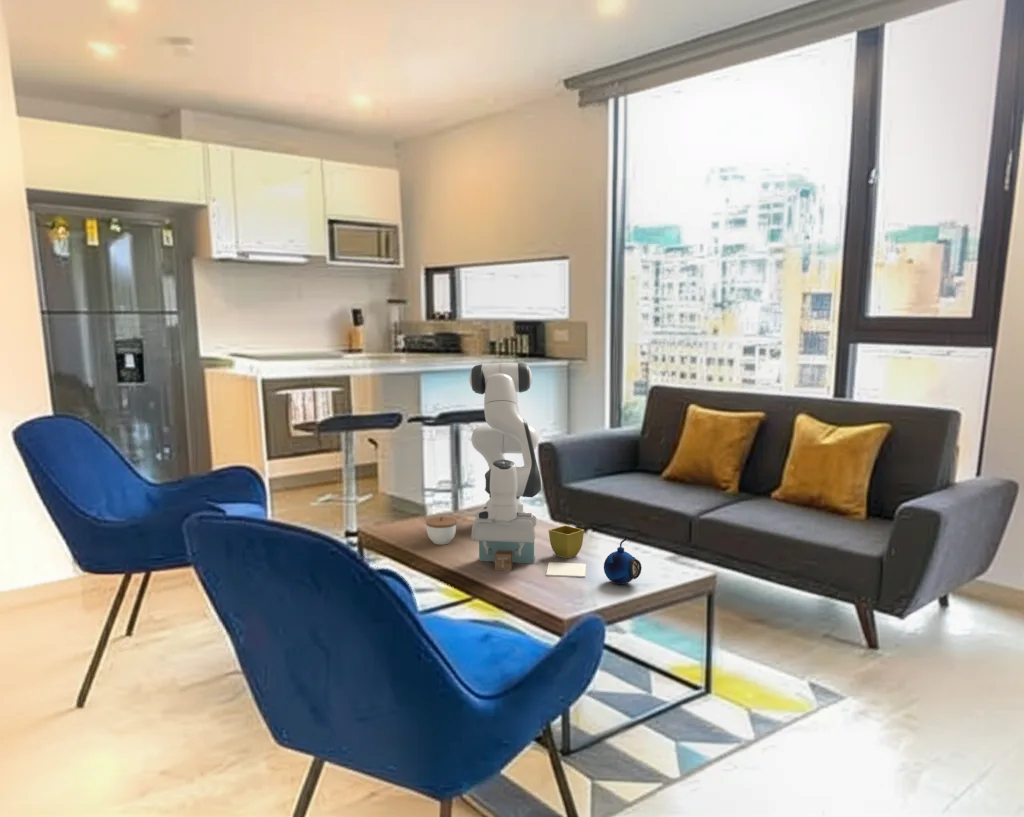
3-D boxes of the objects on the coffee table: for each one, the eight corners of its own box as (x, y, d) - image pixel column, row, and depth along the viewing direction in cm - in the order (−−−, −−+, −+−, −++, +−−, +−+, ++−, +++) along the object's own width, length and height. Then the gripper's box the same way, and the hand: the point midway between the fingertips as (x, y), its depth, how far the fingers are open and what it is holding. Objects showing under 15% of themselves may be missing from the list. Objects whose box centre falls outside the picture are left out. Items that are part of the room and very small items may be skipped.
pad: (549, 563, 238) (549, 562, 238) (586, 565, 237) (586, 563, 237) (546, 575, 226) (546, 574, 226) (585, 577, 225) (585, 576, 225)
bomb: (630, 592, 212) (631, 541, 211) (597, 584, 219) (598, 535, 217) (645, 583, 220) (646, 534, 218) (613, 575, 227) (614, 528, 225)
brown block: (497, 565, 237) (497, 550, 236) (512, 565, 236) (512, 550, 236) (494, 570, 232) (494, 554, 231) (510, 571, 231) (510, 555, 231)
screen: (481, 556, 246) (481, 515, 244) (535, 558, 243) (535, 517, 242) (479, 560, 241) (479, 519, 239) (533, 563, 239) (533, 520, 237)
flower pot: (547, 555, 246) (547, 529, 245) (564, 550, 253) (564, 524, 252) (567, 561, 240) (567, 534, 239) (584, 555, 246) (584, 529, 245)
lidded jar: (462, 540, 264) (462, 514, 263) (446, 548, 255) (445, 521, 254) (437, 536, 269) (437, 511, 268) (420, 543, 260) (420, 517, 259)
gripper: (537, 510, 234) (537, 553, 235) (474, 508, 236) (474, 550, 238) (535, 515, 227) (535, 559, 229) (470, 513, 230) (470, 556, 231)
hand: (503, 554), depth 233 cm, fingers open, 8 cm apart
